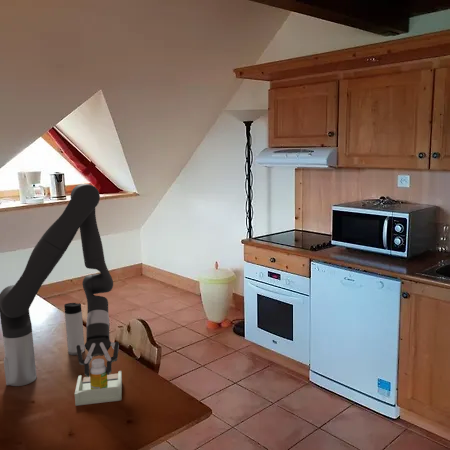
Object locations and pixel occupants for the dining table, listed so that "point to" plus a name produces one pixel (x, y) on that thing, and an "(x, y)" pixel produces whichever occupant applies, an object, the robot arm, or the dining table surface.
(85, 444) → the dining table surface
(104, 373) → the supplement bottle
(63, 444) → the dining table surface
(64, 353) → the dining table surface
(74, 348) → the travel mug
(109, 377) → the tray
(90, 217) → the robot arm
